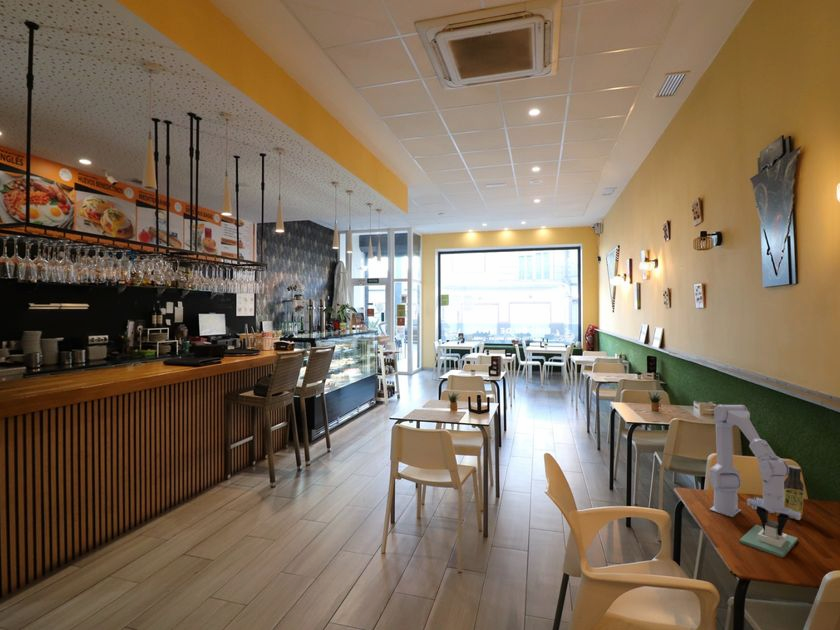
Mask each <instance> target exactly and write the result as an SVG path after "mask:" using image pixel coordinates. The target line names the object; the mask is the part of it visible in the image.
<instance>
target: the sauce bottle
mask: <svg viewBox="0 0 840 630" xmlns="http://www.w3.org/2000/svg"><path fill="white" fill-rule="evenodd" d="M788 468H789V473H788V475H787V476H786V479H784V507H785V508H788V509H791V510H793V511H796V512H799V513H801V519H802V516H803V511H804V510H803V509H804V495H805V493H804V490H805V489H804V483H803V482H802V480H801V473H802V467H799V466H797V465H792V464H791V465H788ZM789 519H791V520H796V519H795V518H792V517H790V518H789Z"/></svg>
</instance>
